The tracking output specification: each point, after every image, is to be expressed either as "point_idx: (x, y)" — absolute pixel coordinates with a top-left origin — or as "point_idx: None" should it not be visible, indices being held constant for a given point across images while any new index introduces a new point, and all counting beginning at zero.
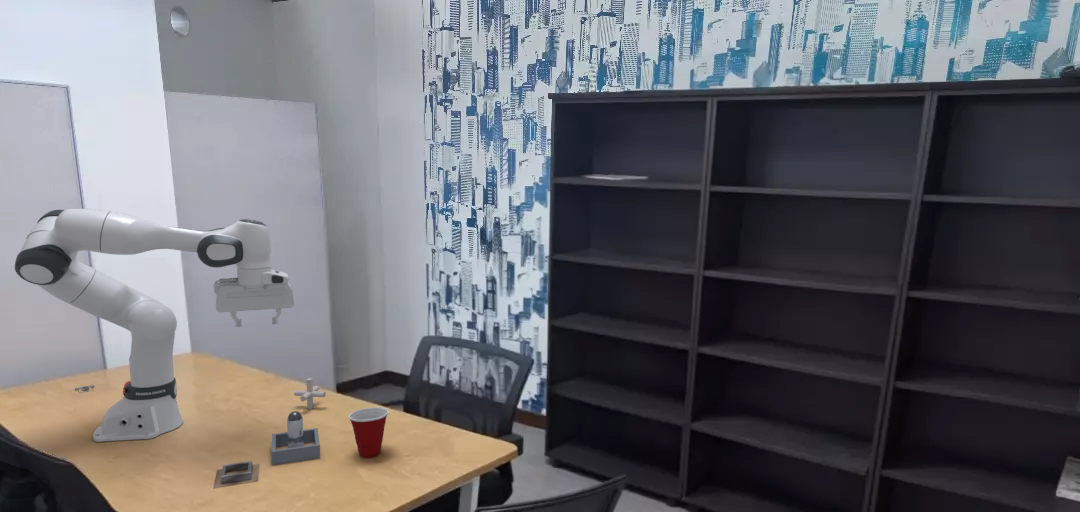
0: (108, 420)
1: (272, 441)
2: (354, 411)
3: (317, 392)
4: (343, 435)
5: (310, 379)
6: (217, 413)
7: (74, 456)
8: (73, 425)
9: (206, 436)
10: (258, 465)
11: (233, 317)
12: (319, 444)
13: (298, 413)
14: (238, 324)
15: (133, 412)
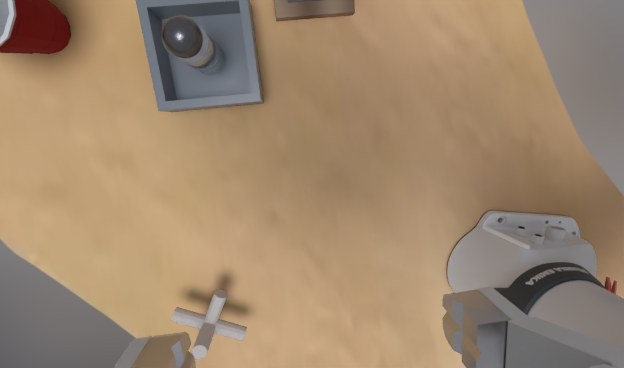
0: (583, 241)
1: (253, 55)
2: (1, 37)
3: (188, 318)
4: (123, 144)
5: (196, 347)
6: (393, 306)
7: (591, 164)
8: None
9: (397, 201)
10: (277, 9)
11: (582, 342)
12: (137, 3)
13: (165, 26)
14: (476, 298)
15: (554, 245)
